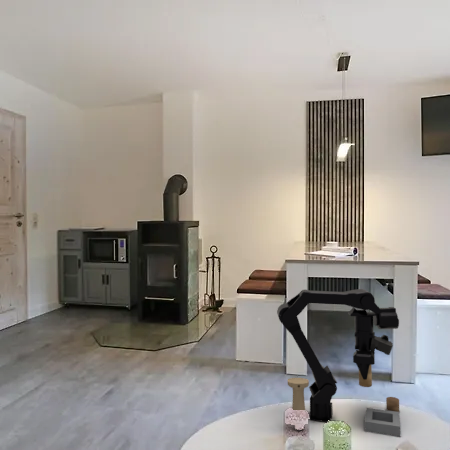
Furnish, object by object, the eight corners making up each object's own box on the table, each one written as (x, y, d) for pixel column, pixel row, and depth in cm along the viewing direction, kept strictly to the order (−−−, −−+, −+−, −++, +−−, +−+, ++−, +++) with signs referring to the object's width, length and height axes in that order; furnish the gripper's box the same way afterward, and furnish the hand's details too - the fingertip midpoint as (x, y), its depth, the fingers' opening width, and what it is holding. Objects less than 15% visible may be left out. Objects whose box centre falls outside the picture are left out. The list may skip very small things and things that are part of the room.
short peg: (386, 412, 140) (386, 400, 140) (386, 407, 144) (386, 396, 144) (399, 414, 139) (399, 402, 139) (399, 409, 143) (399, 397, 143)
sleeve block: (364, 431, 129) (364, 421, 129) (366, 416, 138) (366, 407, 138) (400, 436, 125) (400, 426, 125) (399, 421, 134) (399, 412, 134)
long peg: (358, 386, 136) (358, 361, 136) (359, 381, 140) (358, 357, 140) (371, 387, 135) (371, 362, 135) (372, 383, 139) (371, 358, 139)
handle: (310, 433, 128) (309, 383, 128) (289, 432, 129) (288, 383, 129) (308, 425, 133) (307, 377, 133) (288, 425, 134) (287, 377, 133)
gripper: (391, 338, 126) (392, 390, 126) (390, 323, 143) (391, 369, 144) (352, 336, 130) (353, 386, 130) (355, 321, 147) (356, 366, 147)
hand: (365, 376), depth 138 cm, fingers closed on long peg, 4 cm apart
